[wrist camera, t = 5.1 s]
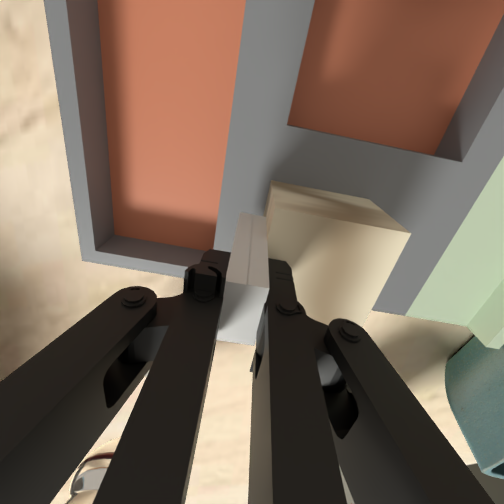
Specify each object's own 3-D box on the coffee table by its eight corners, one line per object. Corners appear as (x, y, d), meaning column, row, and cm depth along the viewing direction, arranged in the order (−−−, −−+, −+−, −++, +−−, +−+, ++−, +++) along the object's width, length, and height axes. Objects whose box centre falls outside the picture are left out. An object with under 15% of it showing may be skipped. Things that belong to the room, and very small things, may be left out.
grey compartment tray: (104, 241, 21) (63, 276, 17) (66, -156, 12) (-54, -321, 7) (453, 303, 23) (498, 349, 18) (667, 2, 13) (867, -51, 9)
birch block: (252, 266, 18) (249, 315, 14) (271, 180, 15) (274, 207, 11) (335, 280, 18) (359, 333, 14) (369, 199, 16) (411, 233, 11)
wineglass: (123, 377, 29) (45, 528, 19) (143, 340, 26) (63, 494, 16) (179, 397, 31) (136, 548, 20) (204, 364, 28) (169, 521, 17)
